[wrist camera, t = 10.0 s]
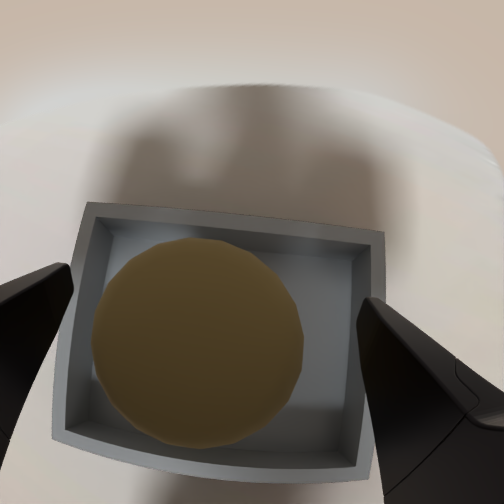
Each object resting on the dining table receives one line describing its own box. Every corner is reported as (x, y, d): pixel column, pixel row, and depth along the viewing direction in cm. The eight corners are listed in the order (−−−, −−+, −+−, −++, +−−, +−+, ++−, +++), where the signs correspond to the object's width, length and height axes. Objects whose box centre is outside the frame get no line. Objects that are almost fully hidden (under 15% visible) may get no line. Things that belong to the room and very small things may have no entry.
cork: (145, 315, 17) (30, 254, 6) (249, 276, 18) (269, 164, 7) (185, 419, 15) (113, 507, 5) (292, 380, 16) (381, 415, 6)
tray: (361, 252, 19) (384, 231, 16) (346, 460, 15) (368, 479, 12) (108, 226, 19) (87, 201, 16) (80, 427, 15) (51, 439, 12)
